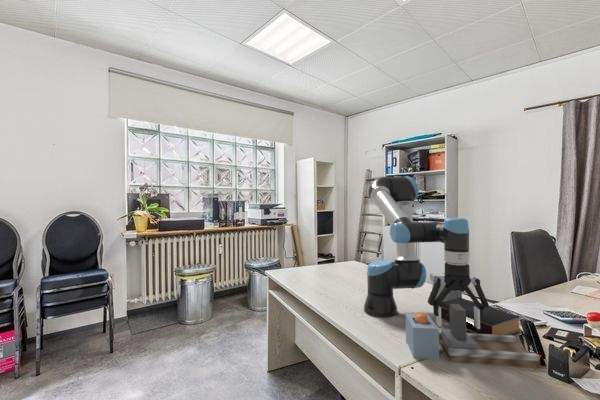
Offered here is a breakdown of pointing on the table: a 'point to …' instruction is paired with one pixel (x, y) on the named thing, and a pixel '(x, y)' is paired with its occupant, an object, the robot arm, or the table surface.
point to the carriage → (458, 330)
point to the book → (484, 318)
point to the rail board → (493, 348)
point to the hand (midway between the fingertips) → (457, 326)
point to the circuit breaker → (450, 295)
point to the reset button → (420, 318)
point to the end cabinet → (422, 338)
